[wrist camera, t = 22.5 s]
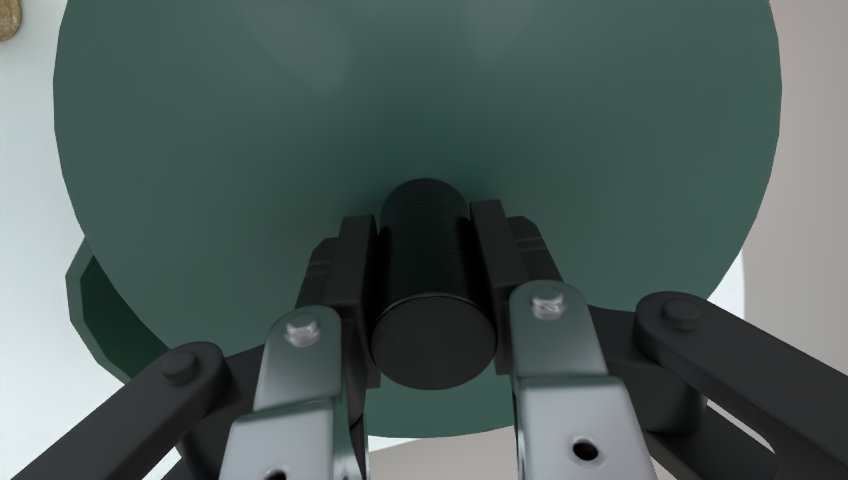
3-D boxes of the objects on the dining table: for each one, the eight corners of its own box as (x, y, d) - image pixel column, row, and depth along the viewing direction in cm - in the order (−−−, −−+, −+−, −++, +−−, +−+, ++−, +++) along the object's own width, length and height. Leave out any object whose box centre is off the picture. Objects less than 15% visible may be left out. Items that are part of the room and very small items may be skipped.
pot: (184, 357, 41) (142, 433, 34) (86, 166, 32) (4, 219, 25) (388, 337, 40) (383, 410, 34) (347, 135, 31) (331, 182, 25)
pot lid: (218, 436, 19) (146, 619, 14) (-93, -162, 10) (-697, -304, 4) (691, 387, 18) (804, 559, 13) (859, -304, 9) (1498, -667, 4)
